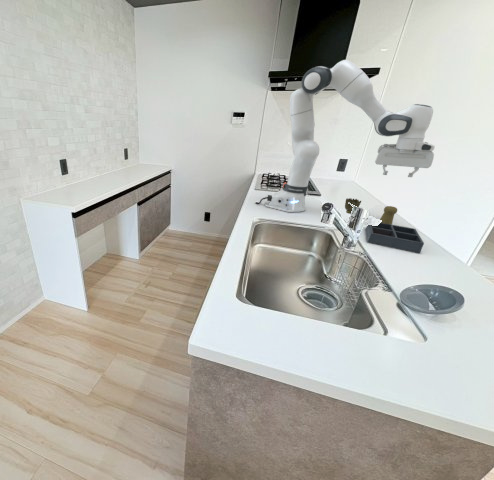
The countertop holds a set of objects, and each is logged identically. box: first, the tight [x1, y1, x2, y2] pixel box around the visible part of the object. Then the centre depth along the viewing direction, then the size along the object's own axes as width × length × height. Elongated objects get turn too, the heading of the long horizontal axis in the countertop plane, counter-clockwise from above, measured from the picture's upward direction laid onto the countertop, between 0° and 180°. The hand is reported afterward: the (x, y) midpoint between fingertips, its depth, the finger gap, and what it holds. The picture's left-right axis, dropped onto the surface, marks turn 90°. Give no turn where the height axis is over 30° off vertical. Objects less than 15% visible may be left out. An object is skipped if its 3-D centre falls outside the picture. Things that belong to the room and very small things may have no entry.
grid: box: [365, 223, 425, 254], centre depth 117 cm, size 18×18×5 cm
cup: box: [344, 197, 362, 215], centre depth 148 cm, size 8×7×8 cm
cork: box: [379, 205, 398, 225], centre depth 129 cm, size 6×6×11 cm
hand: (397, 175), depth 122 cm, fingers open, 8 cm apart
